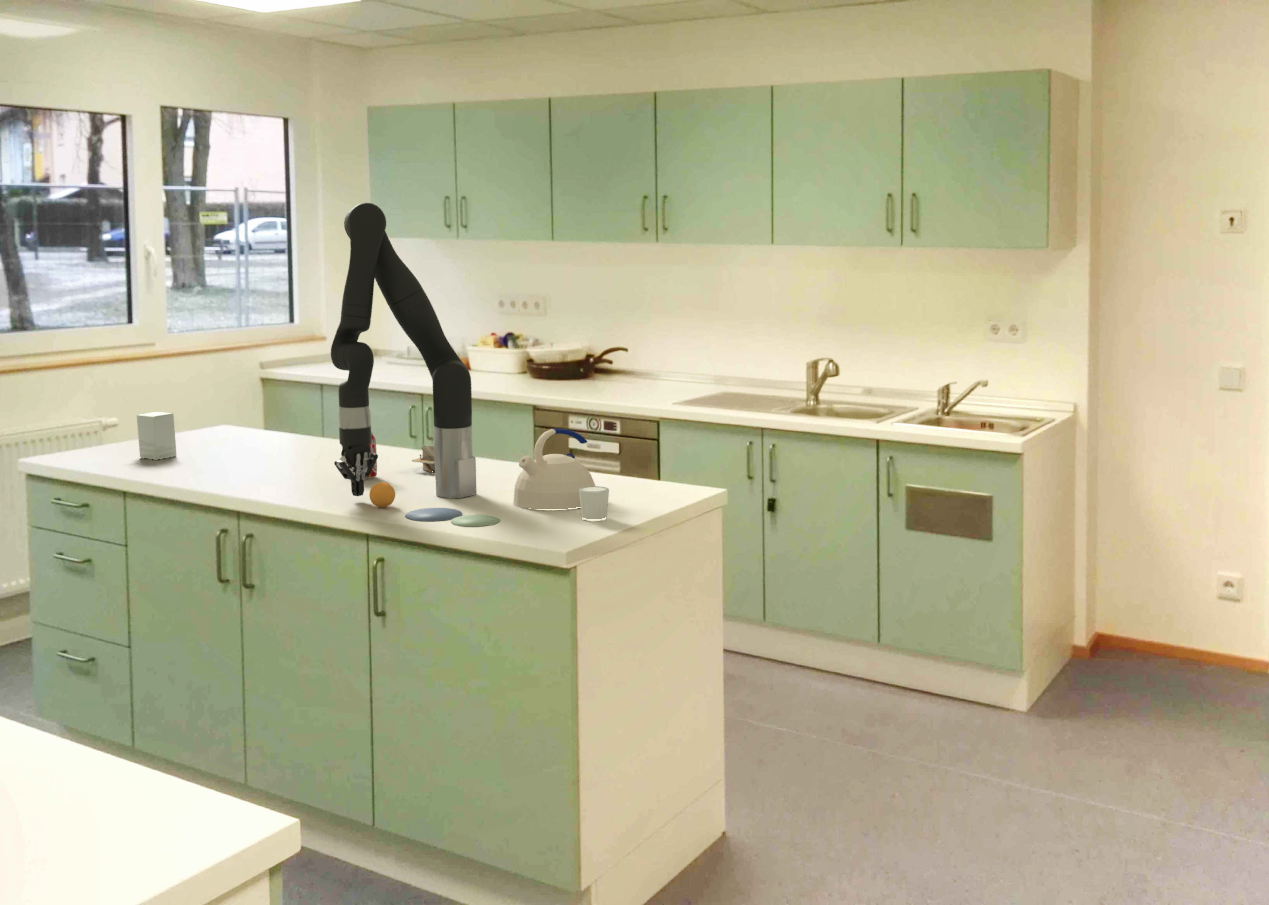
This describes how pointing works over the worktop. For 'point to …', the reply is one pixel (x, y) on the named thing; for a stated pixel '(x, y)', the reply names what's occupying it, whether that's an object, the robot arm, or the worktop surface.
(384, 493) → the ball
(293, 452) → the worktop surface
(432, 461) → the architectural model
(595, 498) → the shot glass
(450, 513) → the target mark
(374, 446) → the soda can
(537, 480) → the kettle
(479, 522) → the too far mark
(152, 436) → the supplement box
